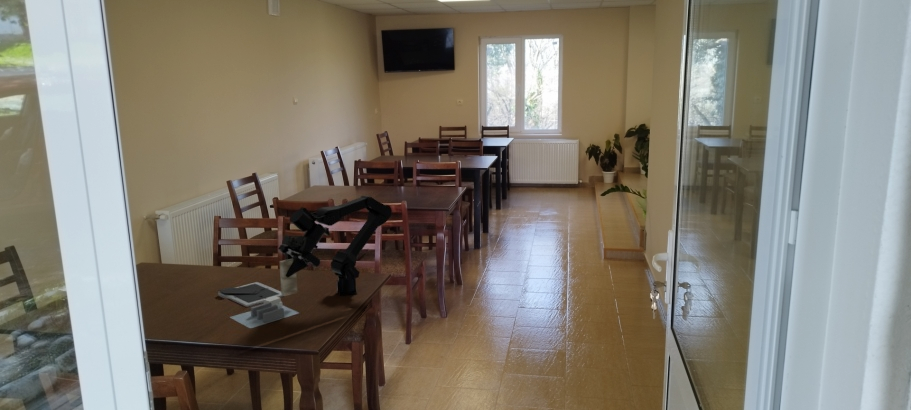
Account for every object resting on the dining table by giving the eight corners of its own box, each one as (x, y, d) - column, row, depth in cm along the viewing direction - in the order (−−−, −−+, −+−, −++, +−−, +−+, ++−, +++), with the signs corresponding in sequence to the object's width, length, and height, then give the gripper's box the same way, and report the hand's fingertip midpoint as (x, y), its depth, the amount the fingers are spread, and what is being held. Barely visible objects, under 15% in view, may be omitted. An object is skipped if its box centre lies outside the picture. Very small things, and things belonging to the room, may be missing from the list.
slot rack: (278, 305, 214) (277, 295, 213) (299, 315, 205) (298, 304, 204) (229, 319, 201) (228, 308, 201) (250, 330, 192) (249, 319, 191)
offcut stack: (276, 303, 214) (275, 295, 213) (282, 306, 211) (282, 298, 210) (262, 307, 210) (262, 299, 209) (269, 310, 207) (268, 302, 207)
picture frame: (218, 297, 224) (246, 310, 211) (218, 290, 224) (246, 303, 210) (257, 286, 236) (286, 299, 222) (256, 280, 235) (285, 291, 221)
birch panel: (294, 291, 211) (292, 258, 209) (297, 292, 210) (295, 259, 208) (281, 294, 208) (279, 261, 205) (284, 296, 206) (282, 262, 204)
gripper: (281, 221, 213) (254, 258, 208) (310, 230, 201) (283, 269, 195) (301, 239, 220) (276, 274, 215) (331, 248, 208) (305, 286, 202)
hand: (284, 276), depth 207 cm, fingers closed on birch panel, 2 cm apart
